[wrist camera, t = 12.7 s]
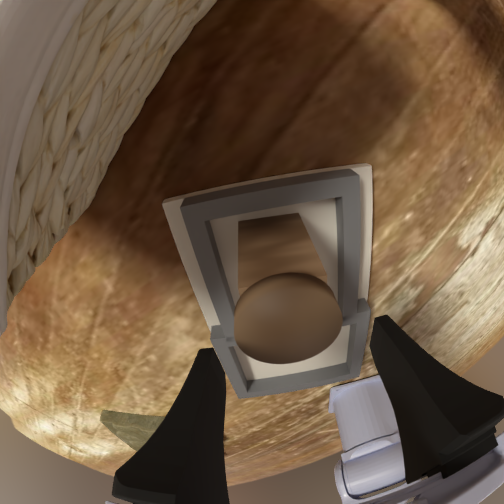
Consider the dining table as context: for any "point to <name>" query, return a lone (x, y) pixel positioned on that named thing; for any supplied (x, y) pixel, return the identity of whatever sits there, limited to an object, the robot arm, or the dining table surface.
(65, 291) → the dining table surface
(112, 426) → the olive stone flat slab
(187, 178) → the dining table surface
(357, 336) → the grey flat framed piece
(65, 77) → the storage basket
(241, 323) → the walnut peg
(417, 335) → the dining table surface
